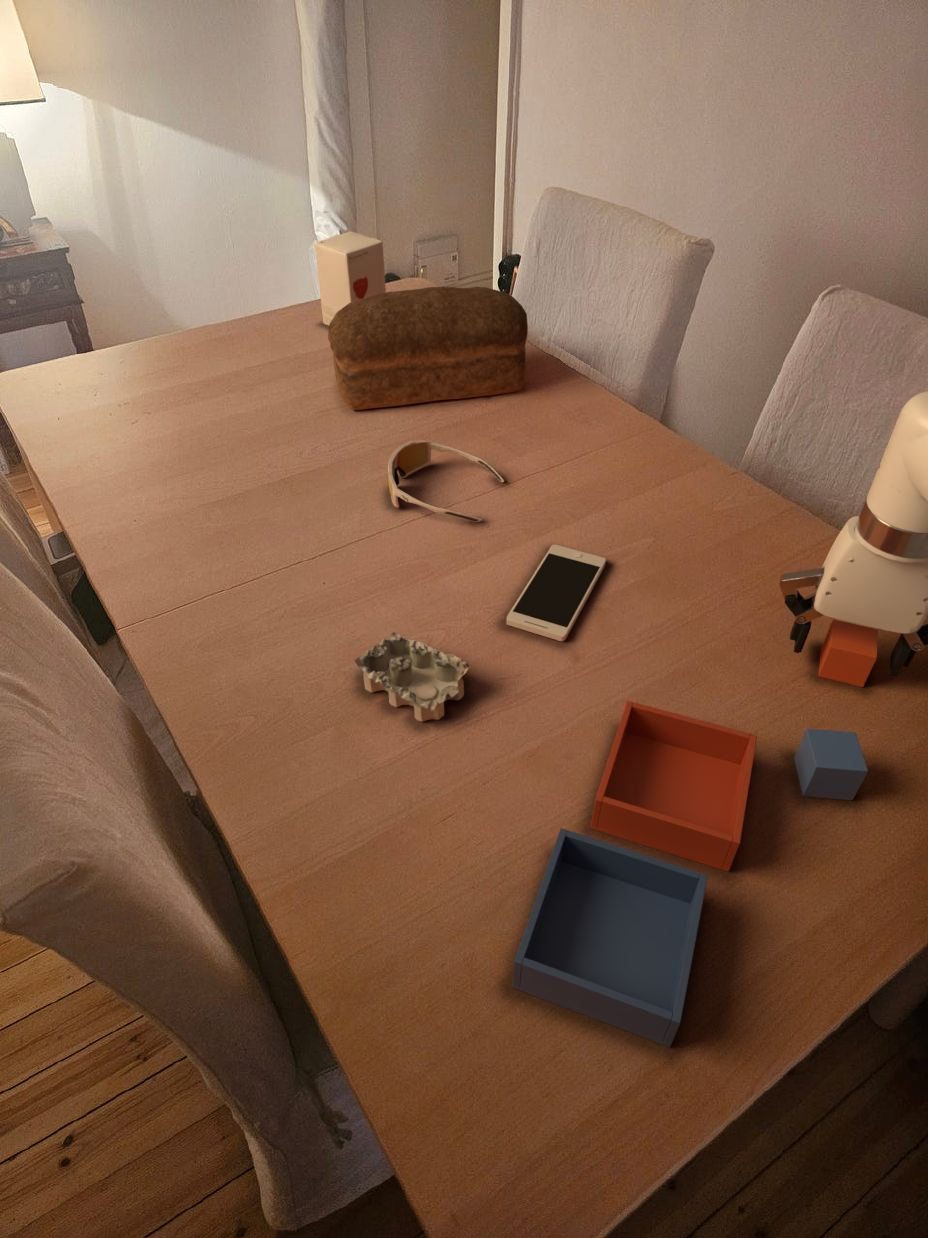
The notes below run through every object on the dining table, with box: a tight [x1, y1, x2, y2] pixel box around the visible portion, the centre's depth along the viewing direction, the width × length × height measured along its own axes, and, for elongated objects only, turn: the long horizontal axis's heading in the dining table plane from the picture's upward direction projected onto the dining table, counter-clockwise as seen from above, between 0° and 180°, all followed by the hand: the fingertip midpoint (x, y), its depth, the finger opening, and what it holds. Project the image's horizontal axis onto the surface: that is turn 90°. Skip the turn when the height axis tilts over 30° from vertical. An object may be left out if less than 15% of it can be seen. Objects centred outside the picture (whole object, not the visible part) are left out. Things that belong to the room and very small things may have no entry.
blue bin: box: [511, 827, 709, 1048], centre depth 64 cm, size 12×12×4 cm
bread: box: [327, 286, 529, 411], centre depth 132 cm, size 15×32×16 cm, turn 103°
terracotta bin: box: [590, 700, 758, 873], centre depth 75 cm, size 12×12×4 cm
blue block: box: [793, 728, 869, 801], centre depth 76 cm, size 4×4×4 cm
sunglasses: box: [387, 439, 505, 523], centre depth 113 cm, size 14×15×5 cm
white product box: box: [314, 230, 387, 327], centre depth 151 cm, size 9×9×15 cm
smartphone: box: [505, 543, 607, 642], centre depth 97 cm, size 7×16×1 cm, turn 155°
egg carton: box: [354, 631, 470, 723], centre depth 85 cm, size 11×8×4 cm
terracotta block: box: [817, 618, 879, 688], centre depth 87 cm, size 4×4×4 cm
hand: (844, 655), depth 87 cm, fingers open, 9 cm apart
